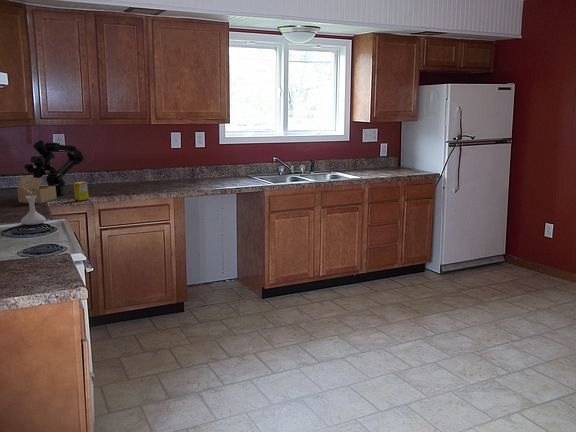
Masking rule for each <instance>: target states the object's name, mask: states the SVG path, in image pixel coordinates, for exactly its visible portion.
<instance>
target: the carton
mask: <svg viewBox="0 0 576 432" xmlns="http://www.w3.org/2000/svg"><path fill="white" fill-rule="evenodd" d="M16 190H17V199H18V203H22V204H23V203H24V204H29V202H28V200H27V198H26V196H31V195H32V194H30V193H28V192H27V189H26V190H24V189H21V188H17V189H16ZM28 190H29V191H31V192H33V191H34V190H35V192H36V195H32V196H36V198H35V202H34V204H39V205H41V204H45V203H49V202H52V201H55V200H57V199H58V198H57V197H58V196H57V197H56V186H48V185H41V184H40V186H39V189H33V190H32V189H28Z"/></svg>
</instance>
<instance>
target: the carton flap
mask: <svg viewBox="0 0 576 432" xmlns="http://www.w3.org/2000/svg"><path fill="white" fill-rule="evenodd" d="M23 178H25V176H20V179H19V182H18V185H17V189H19V188H21V189H22V186H23V185H21V184H22V181H23ZM41 182H42V177H40V178H34V179H33V183H32V185H31V186H32V187H30V188H29V189H32V188H33V189H39V186H40V185H41Z"/></svg>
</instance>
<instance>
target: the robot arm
mask: <svg viewBox="0 0 576 432" xmlns="http://www.w3.org/2000/svg"><path fill="white" fill-rule="evenodd" d="M32 146H33V148H34V150H35V151H36V152H37V153H38V155H40V156H35V155H32V156H30V157H31V158H30V162H31V163H26V164H25V165H24V166H23V168H24V169H25V170H26V172H28V173H30V174H33V178H42V177H44V176H45V175H46V177H45V180H46V184H47V186H56V197H61V196H66V194H65V193H64V188H63V187H64V186H66V185H65V184H66V182H65V181H64V179H63V177H65V175H66V174H67V173H68V172H69V171H71V169H72V168H74V167H75V166H76V165H80V164H82V163H83V161H84V159H85V158H84V156H83V154H82V152H81V151H80V150H79V149H77V147H76V146H75V145H72V144H68V145H67V144H60V142H46V143H45V142H44V140H38V141H37V142H35V143H34V144H33V145H32ZM60 151H61V152H66V153H67V154H66V156H67V160H66V161H65V163H64V164H63V165H61V166H60V168H58V169H56V168H55V167H54V166H53V165H52V164H51V160H52V159H55V158H56V156H55V153H56V152H60ZM32 163H33V164H34V165H33V164H32ZM48 171H49V173H47V172H48Z"/></svg>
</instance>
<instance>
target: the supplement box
mask: <svg viewBox="0 0 576 432" xmlns="http://www.w3.org/2000/svg"><path fill="white" fill-rule="evenodd" d="M88 186H89V185H88V182H87V181H75V182H73V192H74V201H76V202H85V201H89V200H90V199H89V187H88Z"/></svg>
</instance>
